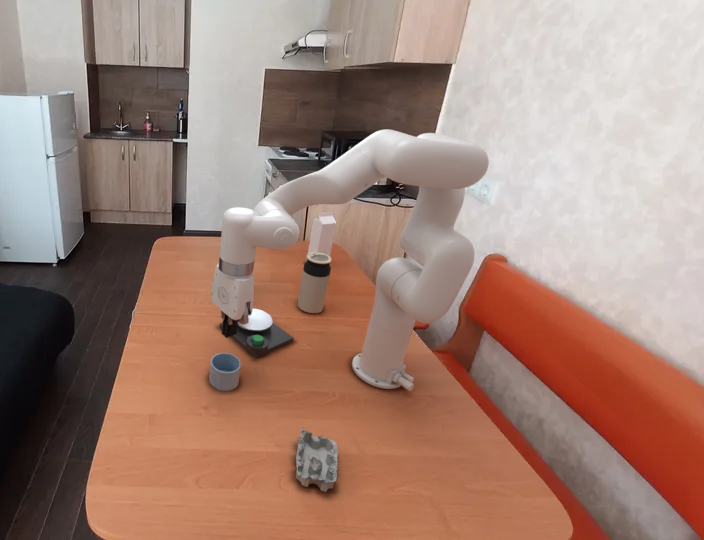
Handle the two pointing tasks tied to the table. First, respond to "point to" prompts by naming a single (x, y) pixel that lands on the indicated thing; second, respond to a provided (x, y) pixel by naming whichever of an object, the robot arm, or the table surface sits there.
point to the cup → (224, 371)
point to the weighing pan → (258, 321)
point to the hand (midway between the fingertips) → (229, 334)
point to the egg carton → (316, 461)
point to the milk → (322, 233)
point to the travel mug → (314, 282)
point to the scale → (271, 340)
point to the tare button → (257, 340)
